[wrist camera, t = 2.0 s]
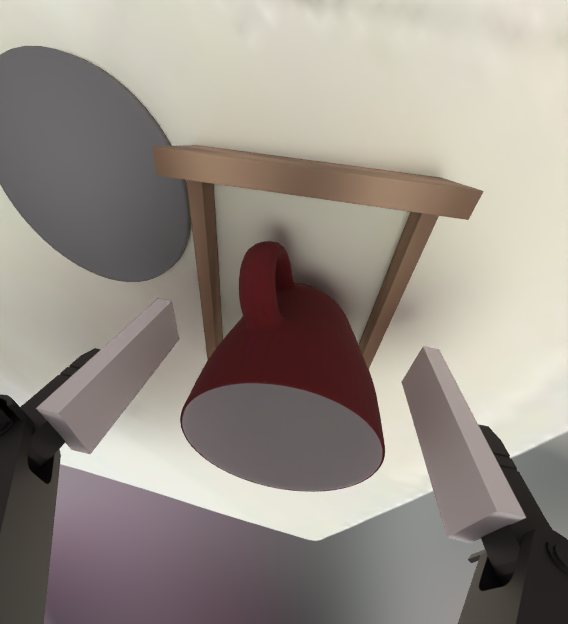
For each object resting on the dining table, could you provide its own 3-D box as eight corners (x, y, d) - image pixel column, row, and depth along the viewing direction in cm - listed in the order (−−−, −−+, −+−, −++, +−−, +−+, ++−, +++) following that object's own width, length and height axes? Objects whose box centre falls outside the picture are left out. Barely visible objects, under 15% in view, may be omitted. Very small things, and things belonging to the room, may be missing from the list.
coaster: (51, 264, 19) (43, 267, 18) (-63, 37, 12) (-80, 32, 11) (200, 289, 18) (196, 294, 18) (174, 63, 11) (167, 60, 11)
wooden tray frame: (215, 357, 22) (196, 394, 19) (196, 145, 13) (151, 146, 10) (353, 382, 21) (358, 426, 18) (441, 177, 12) (483, 191, 9)
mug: (209, 241, 16) (84, 346, 8) (331, 195, 13) (337, 280, 5) (271, 356, 21) (236, 490, 13) (368, 338, 18) (400, 494, 10)
